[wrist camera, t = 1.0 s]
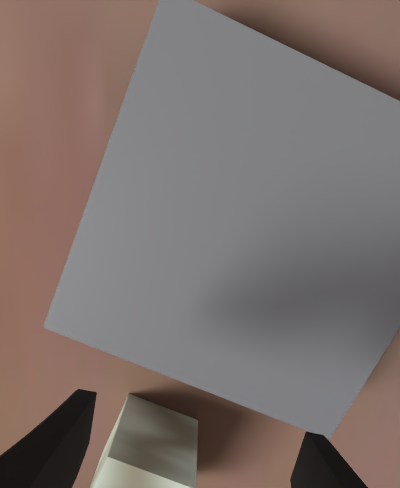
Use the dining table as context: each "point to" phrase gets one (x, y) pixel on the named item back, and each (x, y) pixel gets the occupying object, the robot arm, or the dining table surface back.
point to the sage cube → (149, 449)
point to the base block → (242, 223)
